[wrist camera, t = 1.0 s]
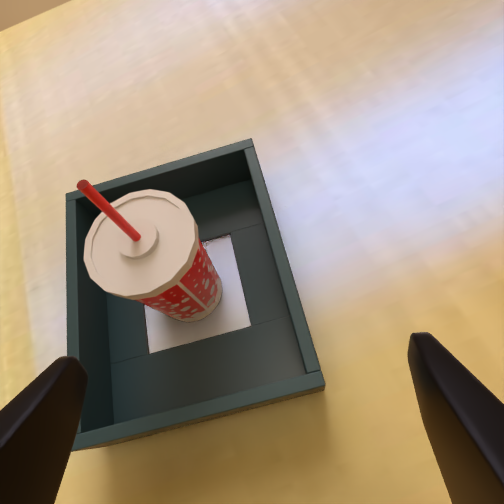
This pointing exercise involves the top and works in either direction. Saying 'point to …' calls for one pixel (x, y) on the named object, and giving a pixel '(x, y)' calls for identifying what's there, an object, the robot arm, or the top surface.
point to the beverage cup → (151, 253)
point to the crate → (199, 352)
